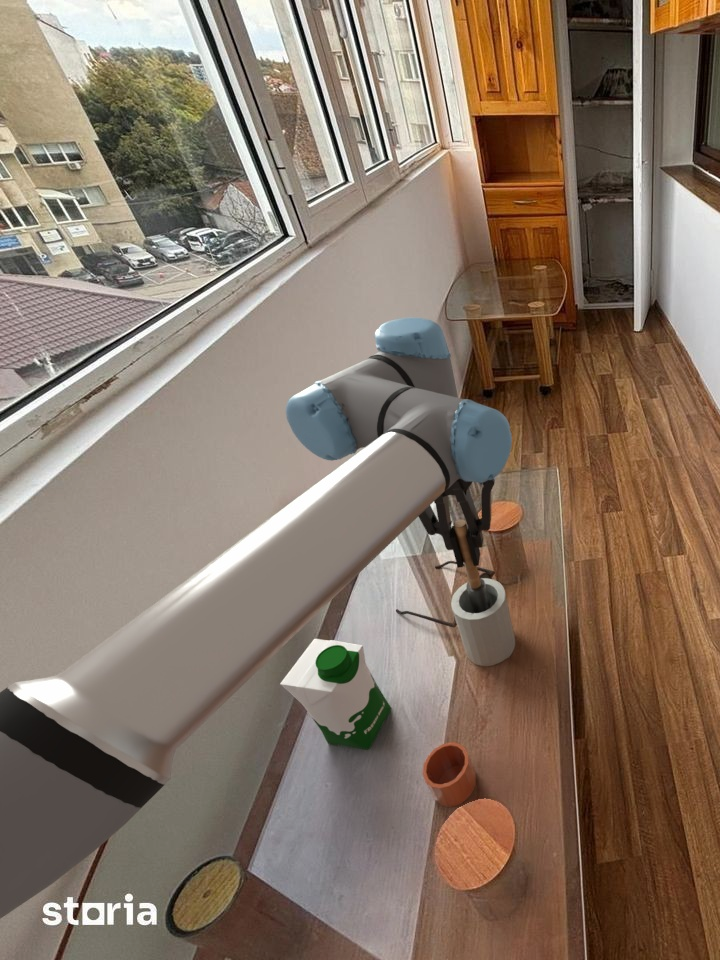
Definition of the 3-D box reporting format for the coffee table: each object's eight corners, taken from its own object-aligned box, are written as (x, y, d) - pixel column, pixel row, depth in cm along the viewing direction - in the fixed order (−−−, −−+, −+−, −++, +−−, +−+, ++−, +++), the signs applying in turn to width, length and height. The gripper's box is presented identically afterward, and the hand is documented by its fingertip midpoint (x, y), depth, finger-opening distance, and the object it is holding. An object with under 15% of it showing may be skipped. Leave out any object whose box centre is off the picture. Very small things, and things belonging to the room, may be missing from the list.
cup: (491, 676, 91) (477, 628, 83) (455, 652, 95) (439, 604, 86) (525, 640, 97) (516, 591, 89) (490, 619, 101) (479, 570, 93)
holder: (453, 817, 74) (443, 797, 69) (424, 792, 76) (413, 771, 72) (485, 778, 78) (477, 757, 73) (456, 755, 80) (447, 734, 76)
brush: (481, 617, 88) (458, 532, 76) (469, 609, 89) (444, 525, 77) (493, 605, 90) (474, 521, 78) (481, 598, 91) (460, 514, 79)
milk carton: (371, 757, 80) (327, 688, 68) (318, 748, 81) (264, 678, 68) (400, 704, 87) (364, 633, 74) (350, 697, 88) (307, 625, 75)
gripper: (496, 420, 72) (517, 540, 86) (385, 426, 70) (425, 547, 84) (491, 450, 66) (514, 573, 80) (370, 457, 64) (416, 582, 78)
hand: (469, 560), depth 82 cm, fingers closed on brush, 2 cm apart
